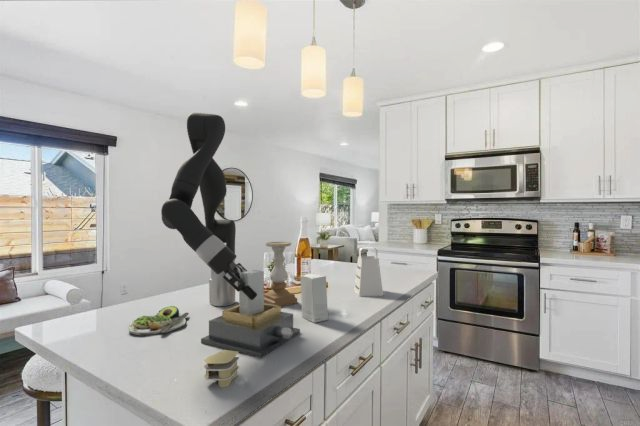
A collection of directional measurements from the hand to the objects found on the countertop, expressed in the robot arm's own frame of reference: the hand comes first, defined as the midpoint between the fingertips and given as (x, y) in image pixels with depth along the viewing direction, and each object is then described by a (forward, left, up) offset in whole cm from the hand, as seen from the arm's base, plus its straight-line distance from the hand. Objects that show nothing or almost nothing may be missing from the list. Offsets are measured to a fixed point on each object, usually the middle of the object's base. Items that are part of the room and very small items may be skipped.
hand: (256, 294), depth 98 cm
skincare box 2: (+7, +22, -13) cm, 27 cm away
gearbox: (0, -1, -13) cm, 13 cm away
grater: (+12, +63, -13) cm, 66 cm away
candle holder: (-15, +33, -13) cm, 39 cm away
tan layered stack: (+8, -23, -13) cm, 28 cm away
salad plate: (-35, -6, -13) cm, 38 cm away
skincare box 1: (-1, -1, -6) cm, 6 cm away
